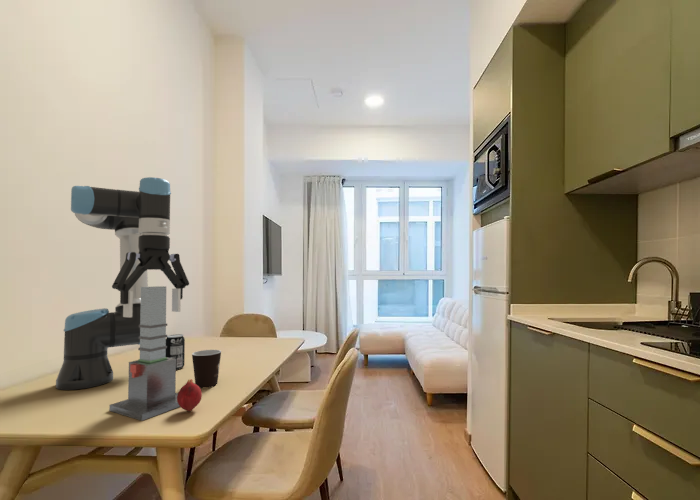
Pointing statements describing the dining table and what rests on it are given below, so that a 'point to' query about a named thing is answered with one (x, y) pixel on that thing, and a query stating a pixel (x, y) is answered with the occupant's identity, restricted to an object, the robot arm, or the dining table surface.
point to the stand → (149, 390)
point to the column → (153, 325)
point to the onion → (189, 396)
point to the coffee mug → (206, 367)
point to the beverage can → (176, 349)
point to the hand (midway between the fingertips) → (153, 314)
